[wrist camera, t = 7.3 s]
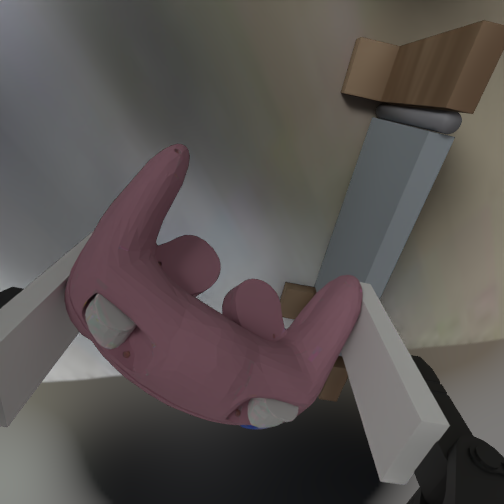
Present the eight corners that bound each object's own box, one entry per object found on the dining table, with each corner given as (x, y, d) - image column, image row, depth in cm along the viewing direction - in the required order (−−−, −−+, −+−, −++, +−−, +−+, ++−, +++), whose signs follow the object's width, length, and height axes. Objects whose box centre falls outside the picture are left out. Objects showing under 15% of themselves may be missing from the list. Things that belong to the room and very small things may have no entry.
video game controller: (134, 195, 14) (10, 338, 9) (173, 120, 11) (10, 285, 6) (303, 310, 17) (268, 463, 12) (375, 279, 13) (364, 474, 9)
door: (314, 283, 27) (334, 357, 20) (376, 101, 21) (442, 108, 13) (341, 288, 28) (371, 364, 20) (411, 109, 21) (495, 120, 14)
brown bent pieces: (277, 309, 29) (283, 393, 21) (356, 39, 20) (422, 4, 12) (340, 320, 29) (370, 406, 21) (447, 61, 20) (572, 42, 12)
